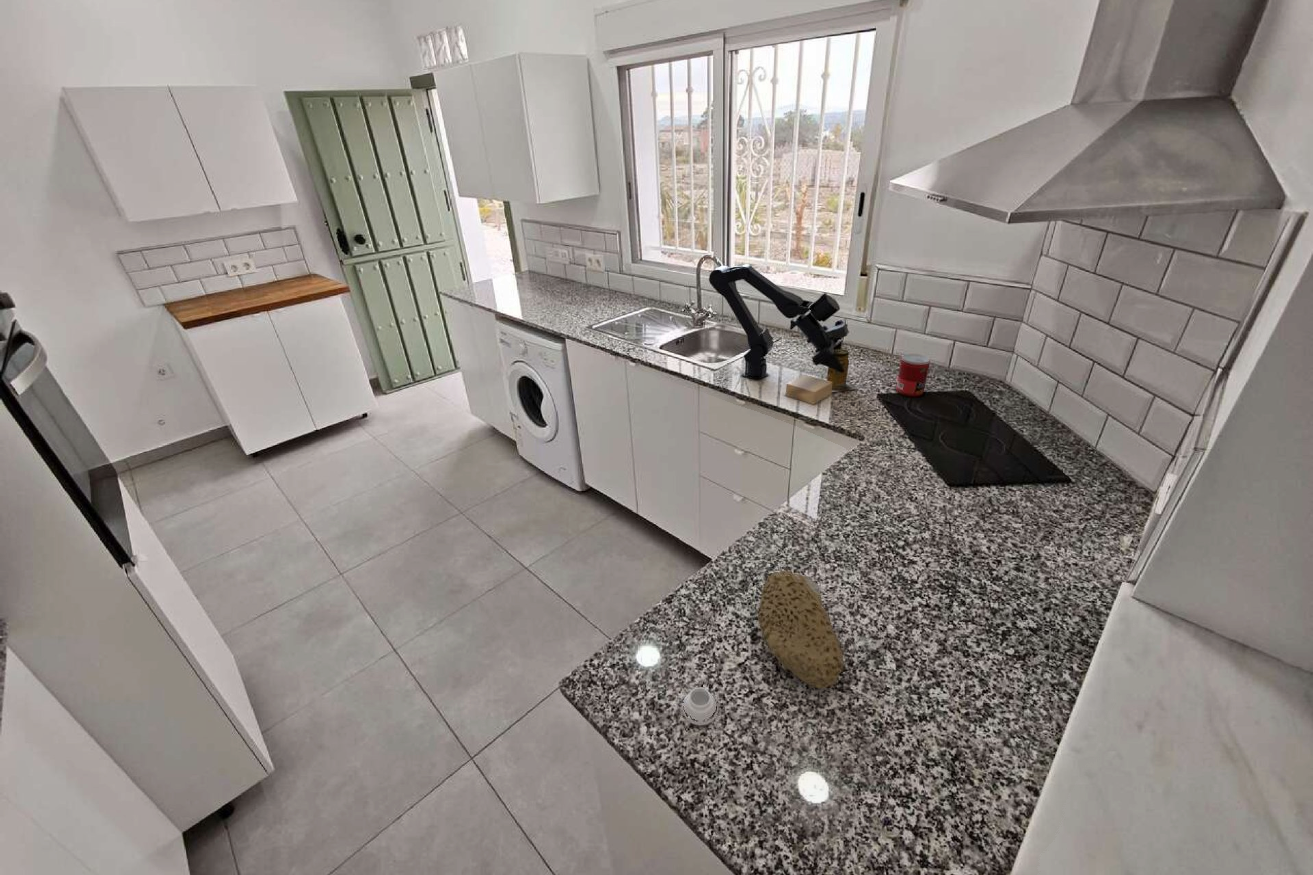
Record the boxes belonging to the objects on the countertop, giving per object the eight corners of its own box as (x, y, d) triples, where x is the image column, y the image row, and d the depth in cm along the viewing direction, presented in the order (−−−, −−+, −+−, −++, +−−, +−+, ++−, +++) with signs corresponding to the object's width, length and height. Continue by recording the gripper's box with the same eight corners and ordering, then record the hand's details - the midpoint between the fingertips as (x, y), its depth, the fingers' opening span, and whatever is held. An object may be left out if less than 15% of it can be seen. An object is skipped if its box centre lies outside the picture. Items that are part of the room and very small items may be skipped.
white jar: (724, 716, 75) (705, 688, 79) (725, 702, 74) (705, 675, 78) (694, 733, 73) (675, 704, 77) (694, 719, 72) (675, 690, 76)
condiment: (821, 384, 175) (824, 348, 169) (845, 381, 176) (850, 346, 170) (831, 392, 168) (835, 356, 163) (856, 390, 169) (861, 353, 164)
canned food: (919, 398, 162) (927, 364, 157) (892, 393, 166) (898, 359, 161) (926, 390, 167) (933, 356, 162) (899, 384, 172) (905, 351, 166)
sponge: (757, 596, 96) (745, 673, 78) (769, 559, 94) (759, 629, 75) (831, 620, 94) (837, 705, 75) (845, 583, 91) (854, 661, 73)
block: (785, 395, 168) (786, 383, 166) (803, 385, 174) (804, 374, 172) (813, 404, 162) (815, 392, 160) (831, 394, 168) (832, 382, 166)
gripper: (827, 322, 155) (862, 363, 156) (840, 306, 169) (871, 344, 170) (798, 345, 162) (831, 384, 163) (812, 328, 176) (842, 364, 177)
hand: (845, 368), depth 168 cm, fingers closed on condiment, 6 cm apart
